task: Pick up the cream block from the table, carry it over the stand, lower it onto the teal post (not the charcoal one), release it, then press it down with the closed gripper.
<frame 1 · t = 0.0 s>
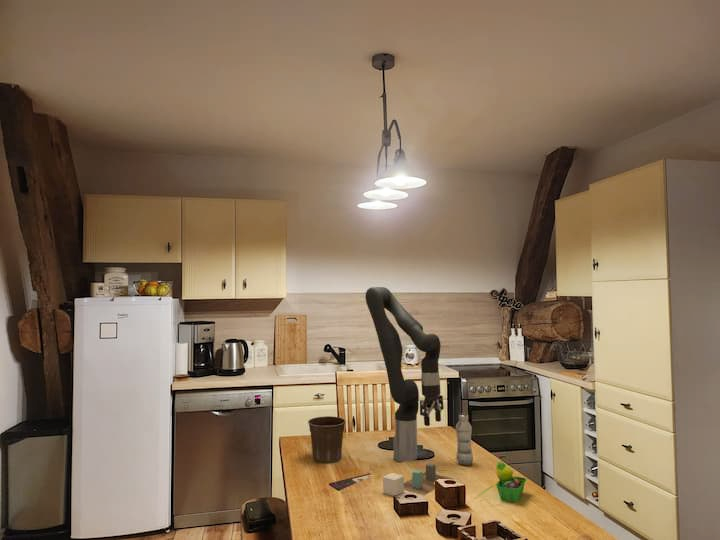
hand: (432, 423, 208), 17 cm above the table, tool pointing down, fingers open, 8 cm apart
teal post: (417, 486, 183), resting on stand board
fruit basket: (509, 496, 176), on the table
stand board: (425, 486, 186), on the table
plastic bottle: (464, 464, 209), on the table
charcoal post: (430, 479, 189), resting on stand board
cream block: (393, 495, 178), on the table
plant pot: (327, 459, 219), on the table
chocolate bar: (356, 484, 190), on the table
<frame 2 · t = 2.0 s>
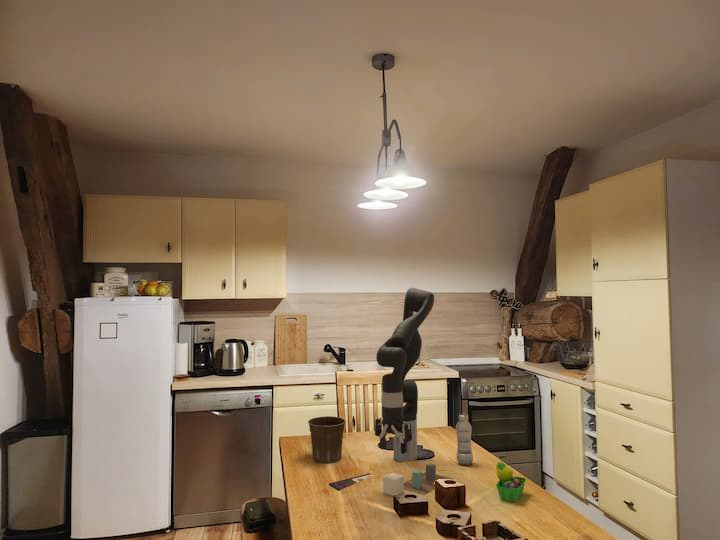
hand: (393, 451, 179), 15 cm above the table, tool pointing down, fingers open, 8 cm apart
nothing on the table moved.
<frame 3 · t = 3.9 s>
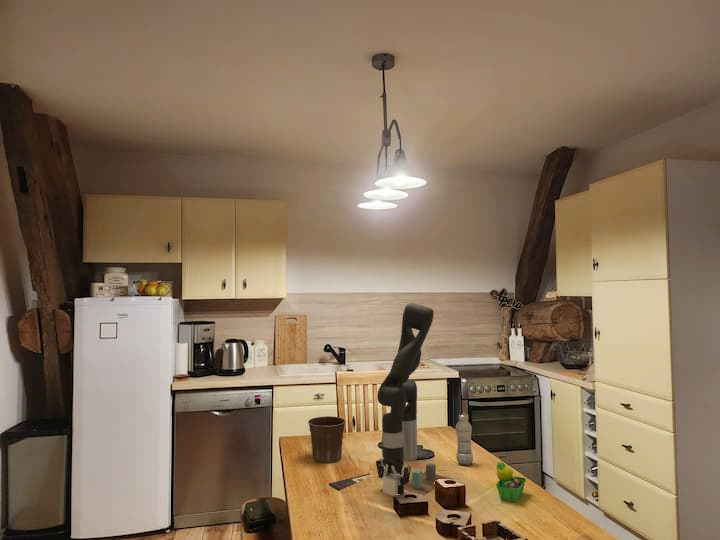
hand: (393, 493, 178), 1 cm above the table, tool pointing down, fingers closed on cream block, 5 cm apart
cream block: (393, 495, 178), on the table, touching gripper
everything else where it was.
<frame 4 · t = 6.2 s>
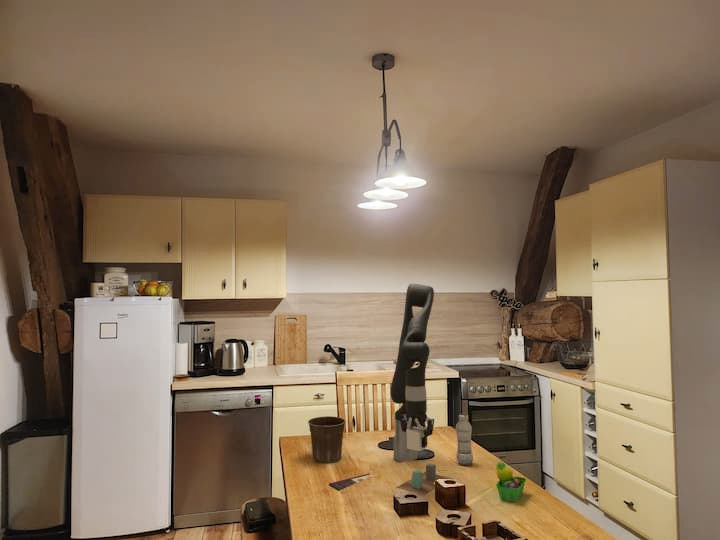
hand: (417, 445, 183), 16 cm above the table, tool pointing down, fingers closed on cream block, 5 cm apart
cream block: (417, 448, 183), point 15 cm above the table, touching gripper
everything else where it was.
when the fingers open (3 cm above the table, at t = 8.5 s): cream block drops 1 cm, resting on stand board.
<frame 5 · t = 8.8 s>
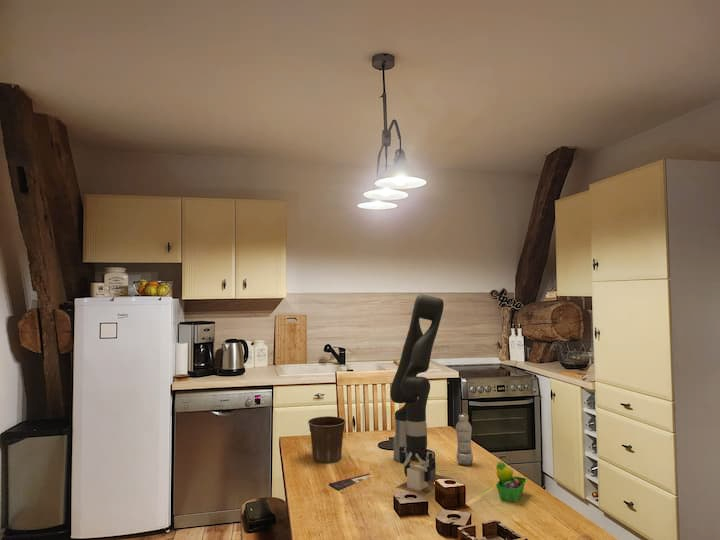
hand: (417, 478, 183), 4 cm above the table, tool pointing down, fingers open, 7 cm apart
cream block: (417, 486, 183), point 1 cm above the table, touching stand board
everything else where it was.
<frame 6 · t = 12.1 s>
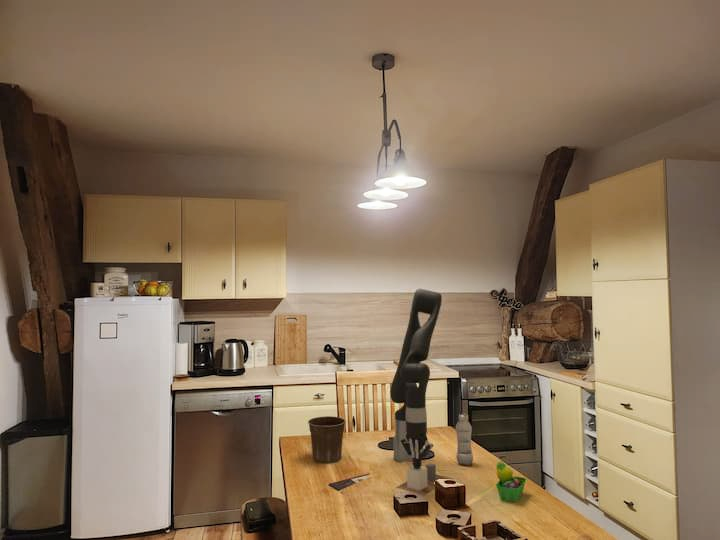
hand: (417, 468, 183), 8 cm above the table, tool pointing down, fingers closed
cream block: (417, 486, 183), point 1 cm above the table, touching gripper, stand board
everything else where it was.
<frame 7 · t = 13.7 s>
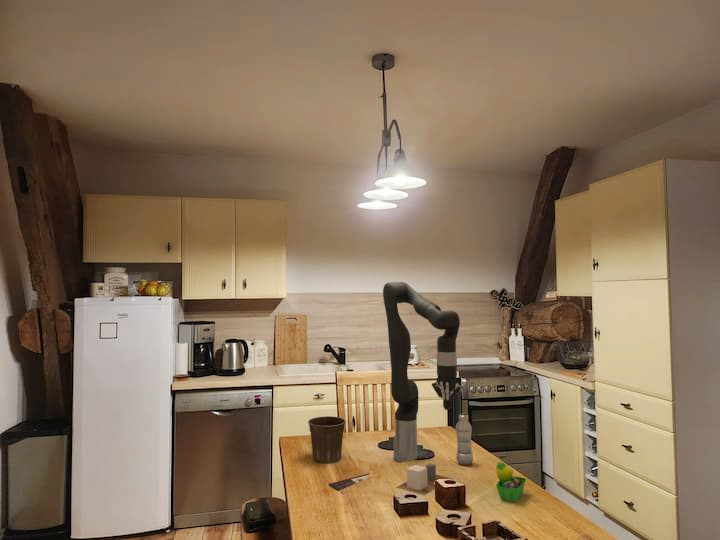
hand: (447, 409, 194), 26 cm above the table, tool pointing down, fingers closed
cream block: (417, 486, 183), point 1 cm above the table, touching stand board
everything else where it was.
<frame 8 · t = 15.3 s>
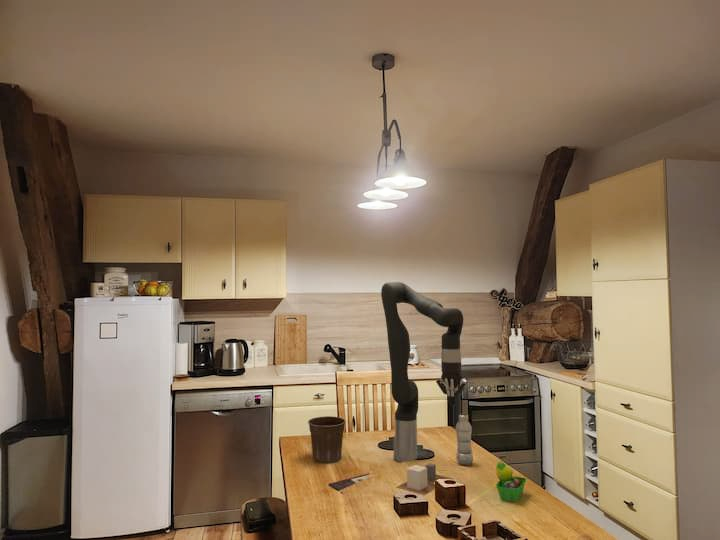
hand: (452, 405, 196), 27 cm above the table, tool pointing down, fingers closed
nothing on the table moved.
at the end: cream block 0.1 cm from the teal post (horizontally); cream block point 1.2 cm above the table; the gripper is holding nothing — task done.
